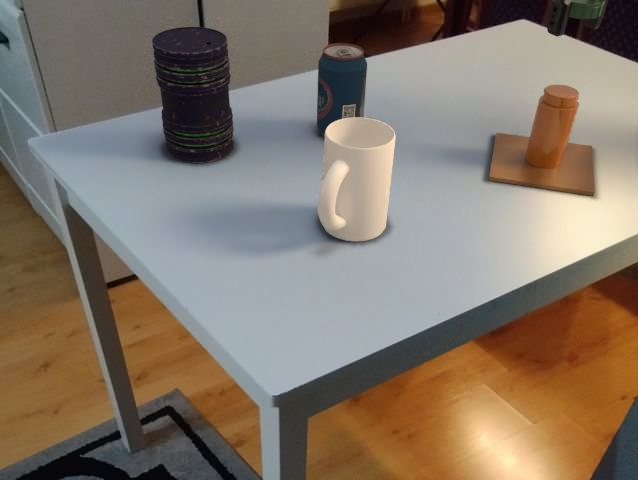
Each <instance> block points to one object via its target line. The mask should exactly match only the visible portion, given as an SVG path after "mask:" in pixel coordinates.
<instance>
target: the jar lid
mask: <svg viewBox="0 0 638 480" xmlns="http://www.w3.org/2000/svg"><path fill="white" fill-rule="evenodd" d="M604 3H605V0H572V2H571V3H570V4H571V9H570V13H569V17H568V18H571V19H578V20H583V19H593V18H597V17H599V16H600V15H602V12H603V9H604V6H605V5H604Z"/></svg>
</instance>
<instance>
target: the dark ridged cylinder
mask: <svg viewBox="0 0 638 480" xmlns="http://www.w3.org/2000/svg"><path fill="white" fill-rule="evenodd" d="M151 43H152V49H153V58H154V59H153V64H154V71H155V75H156V76H155V79H156V83H157V86H158V87H159V90H160V96H161V104H162V109H161V121H162V130H163V135H164V140H165V142H166V144H165V145H166V147H165V148H166V152H167V154H168V155H169V156H170V157H171V158H173V159H175V160H177V161H180V162H183V163H189V164H208V163H213V162H217V161H221V160H224V159H225V158H227V157H228V156H230V155H231V154H232V153H233V151H234V149H235V142H234V130H235V129H234V127H235V126H234V120H233V119H234V118H233V117H234V114H233V109H232V107H231V104H230V87H229V86H230V83H231V73H230V68H231V65H230V57H229V49H228V37H227V35H226V34H225V33H224V32H221V31H220V30H217V29H214V28H209V27H204V26H203V27H202V26H182V27H173V28H169V29H165V30H162V31H160V32H157V34H155V35H153V37H152V38H151Z"/></svg>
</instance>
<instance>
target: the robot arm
mask: <svg viewBox="0 0 638 480" xmlns="http://www.w3.org/2000/svg"><path fill="white" fill-rule="evenodd" d="M571 2H572V0H551V5H550V10H549V14H548V15H549V16H548V20H547V23H546V30H547V33H548V34H550V35H552V36H555V37H557V38H558V37H561V36H564V34H565V32H566V28H567V24H568V20H569V18H570V17H569V13H570V9H571V4H570V3H571ZM608 2H609V0H605V3H604V5H605V6H604V9H603V12H602V15H600V16H599V17H597V18H593V19H582V25H583V26H584V27H586V28H589V29H591V30H597V29H598V28H600V26H601V23H602V21H603V19H604V16H605V14H606V13H605V12H606V9H607V6H608Z"/></svg>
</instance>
